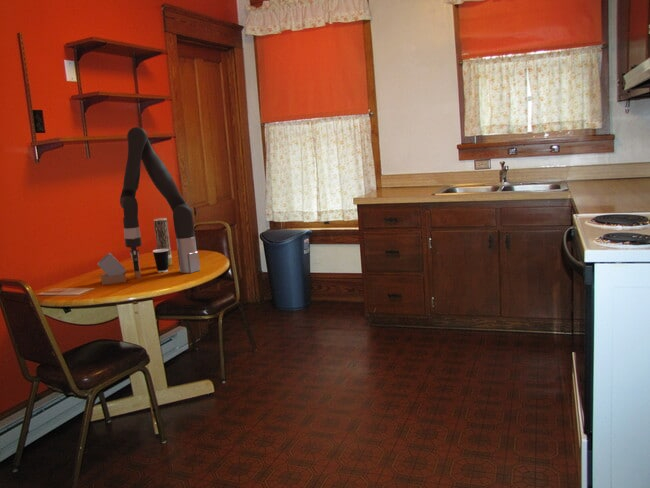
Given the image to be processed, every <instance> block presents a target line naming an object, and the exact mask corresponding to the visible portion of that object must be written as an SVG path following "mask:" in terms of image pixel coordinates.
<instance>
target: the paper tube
mask: <svg viewBox="0 0 650 488" xmlns="http://www.w3.org/2000/svg"><path fill="white" fill-rule="evenodd" d="M153 229H154V236H155V241H156V250H157V249H169V250H168V267H170V266H172V265H173V259H172V258H173V257H172V249H171V241H170V233H169V223H168V219H167V217H160V218H153Z"/></svg>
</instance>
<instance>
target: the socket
mask: <svg viewBox="0 0 650 488" xmlns="http://www.w3.org/2000/svg"><path fill="white" fill-rule="evenodd" d="M97 267H99V268H100V269H101V270H102V271H103V272H104V273H102V274H100V281H101V285H102V286H105V285H113V284H120V283H126V282H127V278H126V277H127V276H126V271H127V269H126V268H125V266H123V264H122V263H121V262H119V260H118V259H117V258H116V257H115V256H114V255H113V254H112V253H111V252H108V253H107V254H106V255H105V256H103V257H102V258H101V259H100V260H99V261H98V262H97Z"/></svg>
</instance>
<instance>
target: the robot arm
mask: <svg viewBox="0 0 650 488" xmlns="http://www.w3.org/2000/svg"><path fill="white" fill-rule="evenodd" d="M126 138H127V148H128V149H127V150H128V151H127V157H126V158H127V159H126V165H125V171H124V176H123V184H122V185H123V187H122V191H121V193H120V198H119V204H120V207H121V208H122V210H123V217H122V222H123V235H124V236H123V237H124V243H125V247H126V248H129V249H130V250H129V254H130V258H131V260H132V265H133V264H134V266H133V272H134V271H135V272H136V271H139V265H138V263H140V255H139V254H140V252H139V249H137V248H139V247H142V245H143V244H142V237H141V235H142V234H141V229H140V223H139V205H138V203H139V202H138V200H137V199H136V195H137V191H138V189H139V186H140V185H139V184H140V177H141V166H142V165H143V166H144V168H145V171H146V172H147V175H148V177H149V178H150V180H151V182H152V183H153V185H154V186H155V188H156V189H157V191H158V192H159V193H160V194H161V196H162V197H164V198H165V200H166V202H167V203H168V205H169V207H170V208H171V212H172V219H173V227H174V234H175V242H176V250H177V259H178V266H179V267H178V268H179V272H180V274H192V273H194V272H195V273H196V272H198V271H200V270H201V267H200V258H199V252H198V251H197V243H196V235H195V227H194V218H193V213H194V212H193V209H192V208H191V207H190V206H189V204H188V203H187V201H186V200H185V199H184V197H183V196H182V194H181V192H180V191H179V189H178V186H177V184H176V182H175V180H174V178H173V176H172V174H171V173H170V171H169V169H168V168H167V166H166V165H165V162H163V161H162V159H161V158H160V157H159V156H158V154H157V153H156V151H155V150H154V148H153V146H152V144H151V141H150V140H149V138H148V133H147V132H146V130H145V129H143V128H142V127H139V126H134V127H132V128H130V129H129V130H128V131H127V135H126ZM141 163H142V165H141ZM138 259H139V261H138ZM134 260H136V261H134Z"/></svg>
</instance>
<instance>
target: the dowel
mask: <svg viewBox="0 0 650 488" xmlns="http://www.w3.org/2000/svg"><path fill="white" fill-rule="evenodd" d="M134 261H136V260H134ZM138 261H139V263H138V265H139V271H136V272H135V271H134V270H133V272H134V279H135V280H136V279H137V280H138V278H139V279H142V273H141V272H142V271H141V265H140V264H141V263H140V258H139V259H138ZM132 265H133V267H134V264H133V263H132Z"/></svg>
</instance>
